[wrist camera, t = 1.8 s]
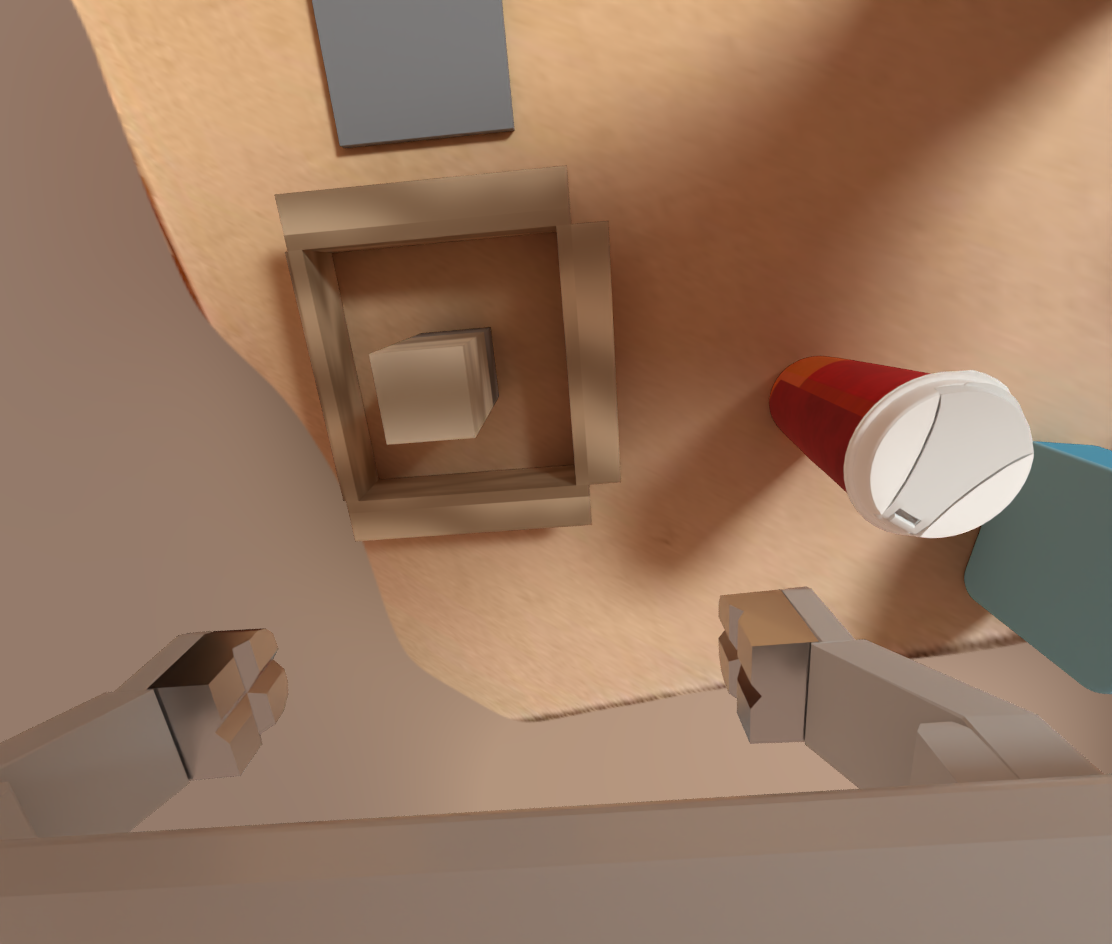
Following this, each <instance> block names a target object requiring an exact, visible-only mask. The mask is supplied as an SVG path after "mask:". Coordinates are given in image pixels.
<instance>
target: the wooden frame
mask: <svg viewBox="0 0 1112 944" xmlns="http://www.w3.org/2000/svg"><path fill="white" fill-rule="evenodd" d="M275 199H276V204H277V208H278V212H279V216H280V221H281V225H282V229H283V234H284V238H285V242H286V246H287V251H288V252H285V254H286V258H287V263H288V267H289V271H290V275H291V280H292V284H293V288H294V292H295V297H296V301H297V305H298V309H299V314H300V318H301V322H302V326H303V331H304V335H305V339H306V343H307V348H308V352H309V356H310V360H311V365H312V369H313V373H314V377H315V382H316V386H317V390H318V394H319V399H320V403H321V407H322V411H323V416H324V420H325V424H326V428H327V433H328V437H329V441H330V445H331V450H332V454H333V458H334V462H335V467H336V471H337V475H338V479H339V484H340V488H341V492H342V496H343V501H346V503H347V507H348V512H349V516H350V520H351V524H352V529H353V533H354V537H355V541H368V540H382V539H396V538H410V537H425V536H439V535H453V534H468V533H482V532H496V531H510V530H525V529H539V528H553V527H568V526H582V525H592V520H591V506H590V491H589V484H603V483H617V482H621V474H620V454H619V433H618V412H617V391H616V370H615V350H614V329H613V308H612V287H611V266H610V246H609V225H608V221H601V222H590V223H580V224H571V217H570V203H569V188H568V174H567V165H566V166H556V167H546V168H536V169H526V170H516V171H506V172H496V173H486V174H476V175H466V176H456V177H446V178H436V179H426V180H416V181H406V182H396V183H386V184H376V185H366V186H356V187H346V188H336V189H326V190H316V191H306V192H296V193H286V194H276V195H275ZM547 232H557V243H558V256H559V269H560V282H561V295H562V307H563V320H564V333H565V346H566V359H567V372H568V385H569V397H570V410H571V423H572V436H573V449H574V462H575V465H565V466H552V467H539V468H525V469H512V470H499V471H485V472H472V473H459V474H445V475H432V476H419V477H405V478H392V479H379V478H378V474H377V469H376V464H375V459H374V454H373V450H372V445H371V440H370V435H369V430H368V426H367V421H366V416H365V411H364V407H363V402H362V397H361V392H360V387H359V383H358V378H357V373H356V368H355V363H354V359H353V354H352V349H351V344H350V339H349V335H348V330H347V325H346V320H345V315H344V311H343V306H342V301H341V296H340V291H339V287H338V282H337V277H336V272H335V267H334V263H333V258H332V253H335V252H346V251H357V250H367V249H378V248H388V247H399V246H410V245H420V244H431V243H441V242H452V241H463V240H473V239H484V238H494V237H505V236H516V235H526V234H537V233H547Z"/></svg>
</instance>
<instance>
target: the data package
mask: <svg viewBox="0 0 1112 944" xmlns="http://www.w3.org/2000/svg"><path fill="white" fill-rule="evenodd" d="M1032 442H1033V450H1034V452H1033V453H1034V457H1033V462H1032V466H1031V469H1030V472H1029V474H1028V477H1027V479H1026V481H1025V483H1024V485H1023V486H1022V488H1021V490H1020V491H1019V493H1018V494H1017V495H1016V496H1015V498H1014V499H1013V500H1012V501H1011V503H1010V504H1009V505H1008V506H1007V507H1005V508H1004V509H1003V510H1002V511H1001V512H1000V513H999V514H998V515H996V516H995V517H994V518H992V519H991V520H989V521H988V522H986V523H984V524H983V525H982V526H981V529H980V532H979V534H978V537H977V540H976V543H975V545H974V548H973V551H972V554H971V556H970V559H969V562H968V565H967V567H966V570H965V575H964V581H965V586H966V589H967V592H968V593H969V595H970V596H971V597H972V599H974V600H975V601H976V602H977V603H978V604H980V605H981V606H982V607H984V608H985V609H986V610H987V611H989V612H990V613H991V614H992V615H994V616H995V617H996V618H997V619H999V620H1000V621H1001V622H1003V623H1004V624H1005V625H1006V626H1008V627H1009V628H1010V629H1011V630H1013V631H1014V632H1015V633H1016V634H1018V635H1019V636H1020V637H1022V638H1023V639H1024V640H1025V641H1027V642H1028V643H1029V644H1030V645H1032V646H1033V647H1034V648H1035V649H1037V650H1038V651H1039V652H1041V653H1042V654H1043V655H1044V656H1046V657H1047V658H1048V659H1049V660H1051V661H1052V662H1053V663H1055V664H1056V665H1057V666H1058V667H1060V668H1061V669H1062V670H1064V671H1065V672H1066V673H1067V674H1068V675H1070V676H1071V677H1072V678H1074V679H1075V680H1076V681H1077V682H1079V683H1080V684H1081V685H1082V686H1084V687H1085V688H1087V689H1089V690H1091V691H1094V692H1097V693H1102V694H1112V451H1111V450H1108V449H1104V448H1101V447H1098V446H1093V445H1080V444H1065V443H1050V442H1035V441H1032Z"/></svg>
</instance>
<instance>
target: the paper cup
mask: <svg viewBox="0 0 1112 944" xmlns="http://www.w3.org/2000/svg"><path fill="white" fill-rule="evenodd" d="M769 407H770V412H771V415H772V418H773V420H774V422H775V423H776V425H777V426H778V427H779V428H780V430H781V431H782V432H783V433H784V434H785V435H786V436H787V437H788V438H789V439H790V440H791V441H792V442H793V443H794V444H795V445H796V446H797V447H798V448H799V449H800V450H801V451H802V452H803V453H804V454H805V455H806V456H807V457H808V458H809V459H810V460H811V461H812V462H814V463H815V464H816V465H817V466H818V467H819V468H820V469H822V470H823V471H824V472H825V473H826V474H827V475H828V476H829V477H831V478H832V479H833V480H834V481H835V482H836V483H837V484H838V485H839V486H840V487H841V488H842V489H843V490H844V491H846V492H847V494H848V496H849V499H850V501H851V503H852V504H853V506H854V507H855V509H856V510H857V512H858V513H859V514H860V515H861V516H862V517H863V518H864V519H865V520H867V521H868V522H870V523H871V524H873V525H874V526H876V527H878V528H880V529H882V530H884V531H887V532H891V533H894V534H898V535H907V536H915V537H922V538H943V537H949V536H955V535H958V534H962V533H965V532H968V531H970V530H972V529H975V528H977V527H979V526H981V525H983V524H984V523H986V522H988V521H989V520H991V519H992V518H994V517H995V516H996V515H998V514H999V513H1000V512H1001V511H1002V510H1003V509H1004V508H1005V507H1007V506H1008V505H1009V504H1010V503H1011V501H1012V500H1013V499H1014V498H1015V496H1016V495H1017V494H1018V493H1019V491H1020V490H1021V488H1022V486H1023V485H1024V483H1025V481H1026V479H1027V477H1028V474H1029V472H1030V469H1031V466H1032V462H1033V457H1034V453H1033V452H1034V450H1033V442H1032V436H1031V432H1030V427H1029V425H1028V422H1027V420H1026V418H1025V416H1024V414H1023V412H1022V409H1021V407H1020V405H1019V403H1018V401H1017V400H1016V399H1015V397H1013V396H1012V395H1011V394H1010V391H1009V389H1008V387H1006V386H1005V385H1004V384H1003V383H1001V382H1000V381H999V380H997V379H995V378H993V377H991V376H989V375H987V374H985V373H981V372H978V371H975V370H965V371H948V372H938V373H933V374H930V373H924V372H918V371H913V370H907V369H901V368H895V367H890V366H884V365H878V364H872V363H866V362H860V361H854V360H848V359H842V358H835V357H826V356H813V357H808V358H804V359H801V360H799V361H797V362H795V363H793V364H791V365H790V366H789V367H787V368H786V369H785V370H784V371H783V372H782V373H781V374H780V375H779V377H778V378H777V380H776V381H775V383H774V385H773V387H772V390H771V393H770V399H769Z"/></svg>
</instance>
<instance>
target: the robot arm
mask: <svg viewBox="0 0 1112 944" xmlns="http://www.w3.org/2000/svg"><path fill="white" fill-rule="evenodd" d="M719 619H720V621H721V623H722V625H723V627H724V629H725V631H724V632H723V633H722V634H721V636H720V637H719V658H720V665H721V672H722V675H723V679H724V682H725V685H726V687H727V690H728V692H729V694H731V695H732V696H734V697H735V698H737V714H738V716H739V719H740V721H741V723H742V726H743V728H744V730H745V733H746V735H747V737H748V740H749V742H750V744H754V743H782V742H805V745H806V746H808V747H809V748H810V749H811V750H813V751H814V752H815V753H816V754H817V755H819V756H820V757H821V758H822V759H824V760H825V761H826V762H827V763H829V764H830V765H831V766H832V767H834V768H835V769H836V770H837V771H838V772H840V773H841V774H842V775H844V776H845V777H846V778H847V779H848V780H849V781H851V782H852V783H853V784H854V785H856V786H857V787H858V788H859V789H848V790H833V791H832V790H831V791H814V792H798V793H783V794H782V793H781V794H764V795H749V796H748V795H747V796H731V797H715V798H697V799H682V800H665V801H647V802H630V803H614V804H597V805H580V806H564V807H548V808H530V809H513V810H496V811H482V812H465V813H448V814H431V815H413V816H397V817H379V818H363V819H346V820H330V821H312V822H296V823H279V824H262V825H245V826H228V827H212V828H195V829H178V830H160V831H143V832H130V831H131V830H132V829H133V828H135V827H136V826H137V825H138V824H140V823H141V822H142V821H143V820H145V819H146V818H147V817H148V816H150V815H151V814H152V813H153V812H155V811H156V810H157V809H158V808H159V807H161V806H162V805H163V804H164V803H166V802H167V801H168V800H169V799H171V798H172V797H173V796H174V795H176V794H177V793H178V792H179V791H181V790H182V789H183V788H184V787H186V786H187V785H188V784H189V783H190V782H189V781H191V780H202V779H213V778H222V777H234V776H241V774H242V773H243V772H244V770H245V768H246V767H247V766H248V764H249V763H250V761H251V760H252V758H253V757H254V755H255V754H256V752H257V751H258V749H259V748H260V746H261V745H262V741H261V736H260V734H261V733H262V732H264V731H266V730H267V729H268V728H270V727H271V726H273V725H274V724H276V722H277V721H278V719H279V718H280V716H281V714H282V713H283V711H284V708H285V704H286V700H287V696H288V680H287V677H286V673H285V670H284V668H282V667H281V666H280V665H279V664H278V663H277V662H275V661H274V660H273V659H274V656H275V654H276V652H277V650H278V646H277V643H276V641H275V638H274V635H273V633H272V632H270V631H269V630H267V629H246V630H227V631H213V632H211V631H206V632H196V633H187V634H182V635H178V636H177V637H176V638H175V639H174V640H173V641H171V642H170V643H169V644H168V645H167V646H166V647H164V648H163V649H162V650H161V651H160V652H159V653H158V654H156V655H155V656H154V657H153V658H152V659H151V660H150V661H149V662H147V663H146V664H145V665H144V666H143V667H142V668H141V669H139V670H138V671H137V672H136V673H135V674H134V675H133V676H131V677H130V678H129V679H128V680H127V681H126V682H125V683H123V684H122V685H121V686H120V687H119V688H118V689H117V690H115V691H114V692H108V693H103V694H101V695H99V696H97V697H95V698H93V699H91V700H89V701H87V702H85V703H82V704H80V705H78V706H76V707H74V708H73V709H70V710H68V711H66V712H64V713H62V714H60V715H57V716H55V717H53V718H51V719H49V720H47V721H45V722H43V723H41V724H39V725H37V726H35V727H32V728H30V729H28V730H26V731H24V732H22V733H20V734H18V735H16V736H14V737H12V738H10V739H8V740H5V741H3V742H2V743H0V944H1112V774H1104V773H1102V772H1101V771H1100V770H1099V769H1098V768H1097V767H1096V766H1094V765H1093V764H1092V763H1091V762H1090V761H1089V760H1088V759H1086V757H1084V756H1083V755H1082V754H1081V753H1080V752H1079V751H1077V750H1076V749H1075V748H1074V747H1073V746H1072V745H1071V744H1070V743H1068V742H1067V741H1066V740H1065V739H1064V738H1063V737H1062V736H1061V735H1060V734H1059V733H1057V732H1056V731H1055V730H1054V729H1053V728H1052V727H1050V726H1049V725H1048V724H1047V723H1046V722H1045V721H1044V720H1042V718H1040V717H1039V716H1038V715H1037V714H1035V713H1033V712H1030V711H1028V710H1026V709H1024V708H1021V707H1019V706H1017V705H1014V704H1012V703H1010V702H1008V701H1005V700H1003V699H1000V698H998V697H996V696H994V695H991V694H989V693H987V692H984V691H982V690H980V689H978V688H975V687H973V686H971V685H969V684H966V683H964V682H962V681H959V680H957V679H955V678H953V677H950V676H948V675H946V674H943V673H941V672H939V671H936V670H934V669H932V668H929V667H927V666H925V665H923V664H920V663H918V662H916V661H914V660H911V659H909V658H907V657H904V656H902V655H900V654H897V653H895V652H893V651H891V650H888V649H886V648H884V647H881V646H879V645H877V644H875V643H872V642H870V641H868V640H865V639H861V640H855V639H854V638H853V636H852V635H851V634H850V633H849V632H848V631H847V630H846V628H845V627H844V626H843V625H842V624H841V623H840V621H839V620H838V619H837V618H836V617H835V616H834V614H833V613H832V612H831V611H830V610H829V609H828V607H827V606H826V605H825V604H824V603H823V602H822V601H821V599H820V598H819V597H818V596H817V595H816V594H815V592H814V591H813V590H812V589H811V588H808V587H797V588H788V589H779V590H770V591H760V592H750V593H740V594H730V595H721V596H720V599H719Z"/></svg>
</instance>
